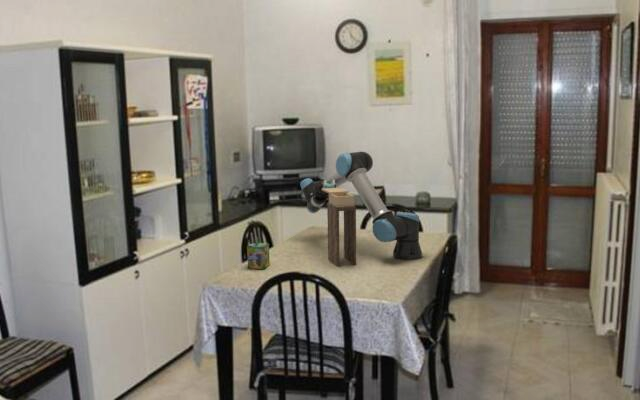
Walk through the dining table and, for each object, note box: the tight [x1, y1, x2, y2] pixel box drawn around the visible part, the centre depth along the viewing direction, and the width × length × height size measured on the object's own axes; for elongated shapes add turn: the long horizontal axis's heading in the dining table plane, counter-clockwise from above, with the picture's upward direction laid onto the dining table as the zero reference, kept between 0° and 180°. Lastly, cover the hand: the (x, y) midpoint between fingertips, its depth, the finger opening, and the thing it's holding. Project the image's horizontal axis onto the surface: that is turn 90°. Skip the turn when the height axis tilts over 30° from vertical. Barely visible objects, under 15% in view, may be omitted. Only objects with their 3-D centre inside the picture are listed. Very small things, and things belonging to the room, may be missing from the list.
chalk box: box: [246, 237, 271, 270], centre depth 315 cm, size 9×9×15 cm
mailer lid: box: [322, 183, 350, 194], centre depth 330 cm, size 24×10×2 cm, turn 17°
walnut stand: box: [326, 202, 357, 268], centre depth 319 cm, size 15×10×30 cm, turn 17°
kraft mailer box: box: [328, 193, 355, 207], centre depth 317 cm, size 13×9×5 cm
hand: (329, 182), depth 333 cm, fingers closed on mailer lid, 4 cm apart
